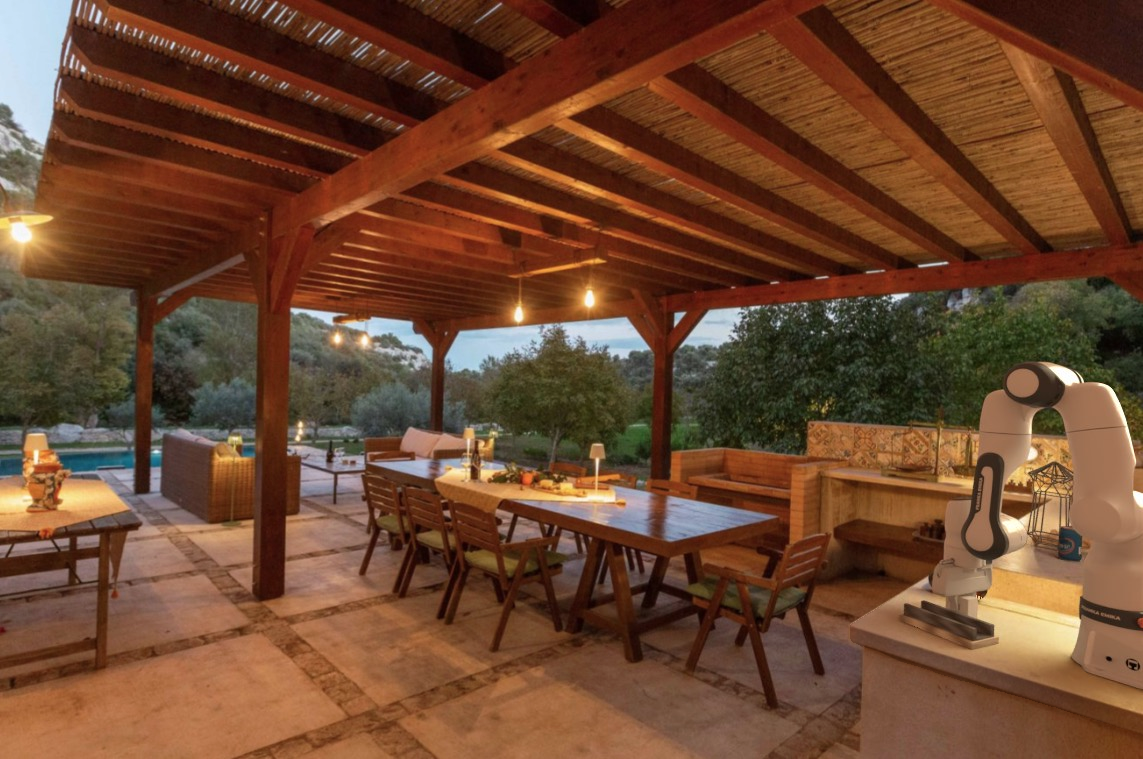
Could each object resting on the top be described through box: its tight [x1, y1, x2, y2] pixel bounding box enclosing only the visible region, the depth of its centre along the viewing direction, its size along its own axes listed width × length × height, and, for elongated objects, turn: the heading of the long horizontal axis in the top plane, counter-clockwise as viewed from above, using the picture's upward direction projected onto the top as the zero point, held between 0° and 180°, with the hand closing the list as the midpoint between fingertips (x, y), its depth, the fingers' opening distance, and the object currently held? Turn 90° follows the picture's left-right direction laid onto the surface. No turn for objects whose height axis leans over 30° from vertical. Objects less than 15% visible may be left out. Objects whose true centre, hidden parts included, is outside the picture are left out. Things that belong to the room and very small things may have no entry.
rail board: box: [898, 600, 1000, 650], centre depth 156 cm, size 19×10×4 cm, turn 25°
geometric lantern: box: [1026, 461, 1073, 552], centre depth 251 cm, size 16×16×35 cm
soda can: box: [1057, 525, 1083, 563], centre depth 232 cm, size 7×7×12 cm
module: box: [945, 594, 979, 619], centre depth 166 cm, size 6×4×6 cm, turn 25°
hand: (961, 609), depth 166 cm, fingers closed on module, 4 cm apart
